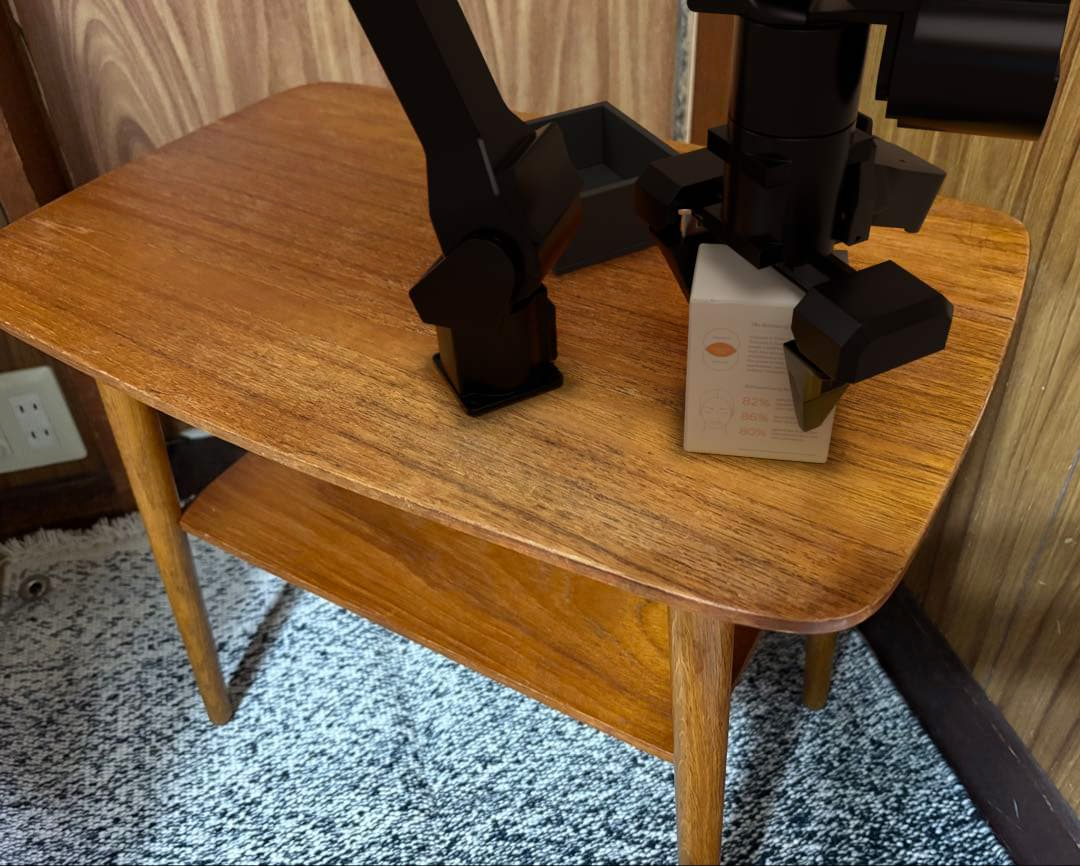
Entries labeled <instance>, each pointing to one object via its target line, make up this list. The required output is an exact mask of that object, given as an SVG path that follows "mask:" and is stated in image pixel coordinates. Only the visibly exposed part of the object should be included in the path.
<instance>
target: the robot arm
mask: <svg viewBox="0 0 1080 866" xmlns="http://www.w3.org/2000/svg"><path fill="white" fill-rule="evenodd" d="M347 3H348V4H349V6H350V8H351V9H352V12H353V14H354V16H355V18H356V19H357V22H358V24H359V25H360V28H361V29H362V31H363V33H364V36H365V37H366V39H367V41H368V43H369V46H370V47H371V50H372V51H373V53H374V55H375V57H376V59H377V61H378V63H379V65H380V66H381V69H382V71H383V73H384V74H385V76H386V79H387V80H388V82H389V84H390V86H391V88H392V90H393V92H394V94H395V96H396V98H397V100H398V102H399V103H400V105H401V108H402V110H403V111H404V114H405V116H406V117H407V120H408V121H409V124H410V125H411V127H412V129H413V131H414V133H415V135H416V137H417V139H418V141H419V143H420V145H421V148H422V151H423V154H424V158H425V173H426V175H425V177H426V191H427V207H428V209H427V210H428V217H429V221H430V224H431V226H432V228H433V232H434V235H435V238H436V241H437V242H438V246H439V248H440V252H441V253H440V254H439V256H438V257H437V258H435V260H434V261H433V263H432V264H431V265H430V266H429V267H428V268H427V270H426V271H425V272H424V273H423V274H422V275H421V276H420V278H419V279H418V280H417V281H416V282H415V283H414V285H413V286H412V287H411V288H410V289H409V290H408V293H407V295H408V297H409V299H410V301H411V304H412V305H413V307H414V309H415V311H416V313H417V315H418V317H419V319H420V321H421V322H422V323H423V324H425V325H431V326H435V332H436V339H437V345H438V352H436V353H434V354H432V356H431V357H432V358H431V359H432V360H431V361H432V365H433V366H434V367H435V369H436V371H437V372H438V374H439V375H440V376H441V378H442V380H443V381H444V382H445V384H446V385H447V387H448V388H449V390H450V391H451V392H452V394H453V396H454V397H455V399H456V400H457V401H458V403H459V404H460V406H461V408H462V409H463V410H464V412H465V413H466V414H467V415H469V416H479V415H481V414H484V413H487V412H490V411H493V410H495V409H498V408H501V407H505V406H507V405H510V404H513V403H516V402H519V401H521V400H524V399H525V400H526V399H527V398H530V397H534V396H536V395H539V394H542V393H545V392H548V391H550V390H553V389H556V388H560V387H561V386H563V385H564V383H565V378H564V374H563V373H562V371H560V369H559V368H558V367H557V366H556V365H555V363H554V361H557V360H558V357H559V345H558V343H559V342H558V325H557V308H556V307H557V306H556V305H555V303H554V302H553V301H552V300H551V299H550V298H549V295H548V294H549V293H548V287H547V286H546V285H545V283H543V281H544V280H545V279H546V278H547V276H548V274H549V273H550V271H552V270H551V268H552V267H553V266H554V264H555V263H556V261H557V260H558V259H559V257H560V256H561V254H562V253H563V251H564V250H565V249H566V247H567V246H568V244H569V243H570V242H571V240H572V239H573V237H574V236H575V234H576V232H577V230H578V227H579V225H580V222H581V219H582V217H583V204H582V200H581V197H580V193H581V192H582V190H583V189H584V188H585V186H586V184H587V183H586V181H585V180H584V179H583V178H582V177H581V176H580V175H579V174H578V173H577V171H576V170H575V168H574V166H573V165H572V163H571V161H570V159H569V156H568V153H567V150H566V146H565V142H564V138H563V135H562V132H561V130H560V129H559V127H558V125H557V124H556V123H555V122H550V123H548V124H547V125H545V126H543V127H541V128H540V129H538V130H536V131H535V130H534V129H532V128H531V127H530V126H529V125H527V124H526V123H525V122H524V121H525V120H523V119H522V118H521V117H519V116H518V115H517V114H516V113H514V112H513V111H512V110H511V109H510V108H509V106H508V105H507V103H506V102H505V100H504V98H503V96H502V93H501V92H500V89H499V88H498V85H497V84H496V81H495V79H494V77H493V74H492V72H491V70H490V68H489V65H488V64H487V62H486V61H487V60H486V59H485V57H484V55H483V52H482V51H481V48H480V46H479V43H478V42H477V39H476V37H475V35H474V33H473V31H472V29H471V28H472V27H471V26H470V24H469V22H468V20H467V17H466V16H465V15H466V14H465V13H464V11H463V9H462V8H463V7H462V6H461V4H460V2H459V0H347ZM1071 3H1072V0H686V2H685V4H686V7H687V9H688V10H689V11H690V12H692V13H700V14H701V13H702V14H713V15H714V14H716V15H726V16H727V15H729V16H734V17H733V19H734V20H733V32H732V46H731V57H730V58H731V60H730V75H729V86H728V87H729V88H728V90H729V91H728V102H727V117H726V123H725V124H721V125H717V126H713V127H709V128H707V137H706V146H705V147H701V148H697V149H693V150H690V151H686V152H683V153H680V155H676V156H672V157H669V158H665V159H662V160H658V161H655V162H651V163H649V164H648V166H647V167H646V168H645V170H644V171H643V172H642V174H641V175H640V176H639V178H638V179H637V180H636V182H635V213H636V214H637V215H638V216H640V217H641V218H642V219H643V220H644V221H646V222H647V223H648V224H649V226H648V231H649V234H650V236H651V237H652V238H653V239H654V240H655V242H656V243H657V245H656V246H657V247H658V248H659V249H658V250H660V252H661V254H662V256H663V258H664V260H665V262H666V264H667V266H668V268H669V269H670V271H671V273H672V275H673V277H674V279H675V281H676V282H677V284H678V286H679V288H680V291H681V293H682V294H683V297H684V299H685V300H686V302H687V304H688V305H689V303H690V296H691V289H692V283H693V277H694V271H695V265H696V259H697V254H698V248H699V245H700V244H702V243H705V244H724V245H727V246H728V247H730V248H731V249H732V250H733V251H735V252H736V253H737V254H738V255H740V256H741V257H742V258H744V259H745V260H746V261H747V262H749V263H750V264H751V265H752V266H754V267H755V268H756V269H758V270H760V269H764V268H768V267H772V268H773V269H774V270H776V271H777V272H778V273H780V274H781V275H782V276H783V277H785V278H786V279H787V280H789V281H790V282H791V283H793V284H794V285H795V286H796V287H798V288H799V289H800V290H802V291H803V292H804V293H805V294H806V295H805V296H804V297H803V298H802V299H801V300H800V302H799V303H798V304H797V305H796V306H795V308H794V309H793V315H792V322H791V331H792V333H793V336H794V339H793V340H790V341H788V342H785V343H783V349H784V355H785V361H786V366H787V371H788V376H789V382H790V388H791V393H792V399H793V404H794V410H795V414H796V417H797V421H798V424H799V428H800V429H801V430H802V431H803V432H808V431H810V430H813V429H815V428H818V427H819V426H820V425H821V424H822V423H823V421H824V420H825V419H826V417H827V416H828V415H829V413H830V412H831V410H832V409H833V408H834V406H835V405H836V406H837V404H838V402H839V401H840V399H842V397H843V395H845V394H844V393H846V392H847V390H848V388H849V387H850V386H851V385H855V384H858V383H861V382H863V381H865V380H869V379H872V378H874V377H876V376H878V375H881V374H884V373H887V372H889V371H892V370H894V369H898V368H900V367H902V366H905V365H907V364H910V363H912V362H913V363H914V362H916V361H918V360H921V359H923V358H927V357H929V356H931V355H934V354H936V353H939V352H941V351H944V350H945V349H946V346H947V341H948V338H949V335H950V332H951V331H950V330H951V326H952V323H953V317H954V310H955V305H954V304H953V303H952V302H951V301H950V300H949V299H948V298H947V297H946V296H945V295H944V294H943V293H942V292H940V291H939V290H936V289H935V288H934V287H932V286H931V285H929V284H928V283H926V282H925V281H924V280H922V279H920V278H919V277H917V276H916V275H914V274H913V273H911V272H910V271H908V270H907V269H905V268H904V267H902V266H901V265H899V264H898V263H896V262H895V261H893V260H892V259H888V260H884V261H882V262H879V263H876V264H873V265H871V266H868V267H864V268H861V269H859V270H856V269H855V268H854V267H852V266H851V265H850V264H849V265H848V264H846V263H845V262H843V261H842V260H841V259H839V258H838V257H836V256H835V255H834V254H832V252H833V250H835V245H839V244H841V243H842V244H844V245H845V246H847V247H852V246H855V245H858V244H860V243H864V242H867V241H869V239H870V233H871V227H876V228H877V227H878V228H889V229H890V228H891V229H900V230H901V229H902V230H904V232H905V233H907V234H918V233H919V232H920V231H921V229H922V227H923V225H924V222H925V221H926V219H927V216H928V214H929V212H930V210H931V209H932V206H933V204H934V202H935V200H936V198H937V196H938V194H939V192H940V190H941V187H942V186H943V184H944V182H945V179H946V178H947V176H948V173H947V171H945V170H944V169H943V168H940V167H938V166H937V165H935V164H933V163H931V162H930V161H927V160H926V159H924V158H922V157H920V156H919V155H917V154H915V153H913V152H911V151H909V150H907V149H905V148H903V147H902V146H899V145H898V144H895V143H893V142H890V141H887V140H885V139H883V138H881V137H879V136H878V135H876V134H873V127H874V120H873V118H872V117H870V116H869V115H867V114H865V113H864V112H862V111H859V106H860V100H861V93H862V87H863V81H864V75H865V70H866V63H867V56H868V49H869V45H870V38H871V32H872V26H873V25H877V26H878V25H879V26H886V28H885V34H884V40H883V44H882V50H881V54H880V60H879V66H878V70H877V71H878V72H877V77H876V84H875V92H874V93H875V94H874V101H880V102H886V108H885V113H884V114H885V115H884V119H888V120H896V128H899V129H907V130H918V131H927V132H928V131H929V132H937V133H946V134H947V133H949V134H958V135H968V136H977V137H987V138H997V139H1006V140H1007V139H1008V140H1016V141H1026V142H1027V141H1028V142H1035V143H1037V142H1039V140H1040V139H1041V137H1042V134H1043V132H1044V129H1045V127H1046V125H1047V121H1048V118H1049V115H1050V113H1051V109H1052V106H1053V103H1054V100H1055V96H1056V92H1057V90H1058V85H1059V82H1060V78H1061V53H1062V52H1061V50H1062V47H1063V43H1064V38H1065V33H1066V30H1067V29H1066V28H1067V24H1068V19H1069V13H1070V7H1071Z"/></svg>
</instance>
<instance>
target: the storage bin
mask: <svg viewBox="0 0 1080 866" xmlns="http://www.w3.org/2000/svg"><path fill="white" fill-rule="evenodd" d="M523 121H524V122H525V123H526V124H527V125H529V126H530V127H531V128H532V129H534V130H535V131H536V130H538V129H540V128H541V127H543V126H545V125H547V124H548V123H550V122H555V123H556V124H557V125H558V127H559V129H560V130H561V132H562V135H563V138H564V142H565V146H566V150H567V153H568V156H569V159H570V161H571V163H572V165H573V166H574V168H575V170H576V171H577V173H578V174H579V175H580V176H581V177H582V178H583V179H584V180H585V181H586V183H587V184H586V186H585V188H584V189H583V190H582V192H581V193H580V197H581V200H582V204H583V217H582V219H581V222H580V225H579V227H578V230H577V232H576V234H575V236H574V237H573V239H572V240H571V242H570V243H569V244H568V246H567V247H566V249H565V250H564V251H563V253H562V254H561V256H560V257H559V259H558V260H557V261H556V263H555V264H554V266H553V267H552V268H551V270H550V271H551V272H552V273H553V274H554V276H555V277H559V276H562V275H565V274H569V273H572V272H575V271H578V270H581V269H585V268H587V267H591V266H594V265H597V264H601V263H603V262H607V261H611V260H613V259H617V258H620V257H623V256H626V255H629V254H633V253H637V252H639V251H643V250H646V249H649V248H652V247H655V246H658V245H657V243H656V242H655V240H654V239H653V238H652V237H651V236H650V234H649V231H648V226H649V224H648V223H647V222H646V221H644V220H643V219H642V218H641V217H640V216H638V215H637V214H636V213H635V182H636V180H637V179H638V178H639V176H640V175H641V174H642V172H643V171H644V170H645V168H646V167H647V166H648V164H649V163H651V162H655V161H658V160H662V159H665V158H669V157H672V156H676V155H680V154H681V153H680V152H679V151H678V150H676V149H674V148H673V147H672V146H671V145H669V144H668V143H667V142H665V141H664V140H662V139H660V138H659V137H658V136H656V135H655V134H654V133H652V132H651V131H650V130H648V129H647V128H646V127H644V126H643V125H641V124H640V123H639V122H637V121H636V120H635V119H633V118H631V117H630V116H629V115H627V114H626V113H624V112H623V111H622V110H620V109H619V108H618V107H616V106H614V105H613V104H612V103H611V102H609V101H608V100H603V101H599V102H595V103H591V104H588V105H584V106H579V107H575V108H571V109H568V110H564V111H563V110H562V111H560V112H555V113H552V114H548V115H543V116H540V117H535V118H532V119H528V120H523Z"/></svg>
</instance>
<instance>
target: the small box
mask: <svg viewBox="0 0 1080 866" xmlns="http://www.w3.org/2000/svg"><path fill="white" fill-rule="evenodd" d="M832 254H834V255H835V256H836V257H838V258H839V259H841V260H842V261H843V262H845V263H846V264H848V265H849V266H850V257H849V251H848V250H847V249H833V252H832ZM805 295H806V294H805V293H804V292H803V291H802V290H800V289H799V288H798V287H796V286H795V285H794V284H793V283H791V282H790V281H789V280H787V279H786V278H785V277H783V276H782V275H781V274H780V273H778V272H777V271H776V270H774V269H773V268H772V267H768V268H764V269H760V270H758V269H756V268H755V267H754V266H752V265H751V264H750V263H749V262H747V261H746V260H745V259H744V258H742V257H741V256H740V255H738V254H737V253H736V252H735V251H733V250H732V249H731V248H730V247H728V246H727V245H724V244H705V243H702V244H700V245H699V248H698V254H697V259H696V265H695V271H694V277H693V283H692V289H691V296H690V303H689V304H688V306H689V307H688V335H687V355H686V356H687V357H686V377H685V378H686V380H685V401H684V402H685V403H684V406H685V407H684V424H683V425H684V427H683V451H685V452H689V453H701V454H712V455H714V454H715V455H723V456H737V457H746V458H757V459H771V460H779V461H780V460H782V461H794V462H805V463H806V462H807V463H818V464H825V463H826V462H827V460H828V456H829V450H830V444H831V437H832V431H833V427H834V419H835V413H836V407H837V404H836V405H835V406H834V408H833V409H832V410H831V412H830V413H829V415H828V416H827V417H826V419H825V420H824V421H823V423H822V424H821V425H820V426H819V427H818V428H815V429H813V430H810V431H808V432H803V431H802V430H801V429H800V428H799V424H798V421H797V417H796V414H795V410H794V404H793V399H792V393H791V388H790V382H789V376H788V371H787V366H786V361H785V355H784V349H783V343H785V342H788V341H790V340H793V339H794V336H793V333H792V331H791V322H792V315H793V309H794V308H795V306H796V305H797V304H798V303H799V302H800V300H801V299H802V298H803V297H804V296H805Z"/></svg>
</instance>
